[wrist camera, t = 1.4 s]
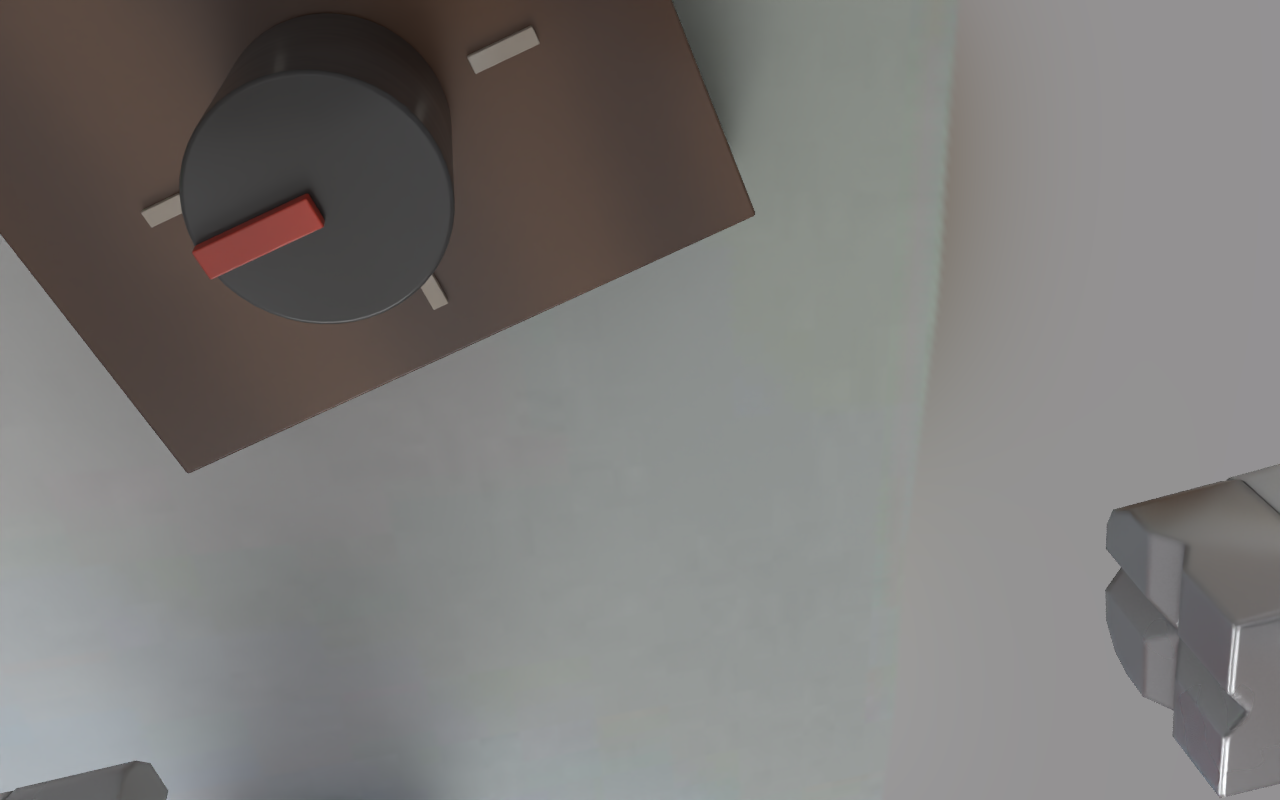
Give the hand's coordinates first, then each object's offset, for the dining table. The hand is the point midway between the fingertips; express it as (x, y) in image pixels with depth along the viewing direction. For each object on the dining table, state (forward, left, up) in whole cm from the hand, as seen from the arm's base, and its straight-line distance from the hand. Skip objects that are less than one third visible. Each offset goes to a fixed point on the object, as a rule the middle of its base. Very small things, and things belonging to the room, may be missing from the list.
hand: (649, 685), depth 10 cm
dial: (+3, -2, -16) cm, 17 cm away
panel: (+3, -2, -19) cm, 20 cm away
